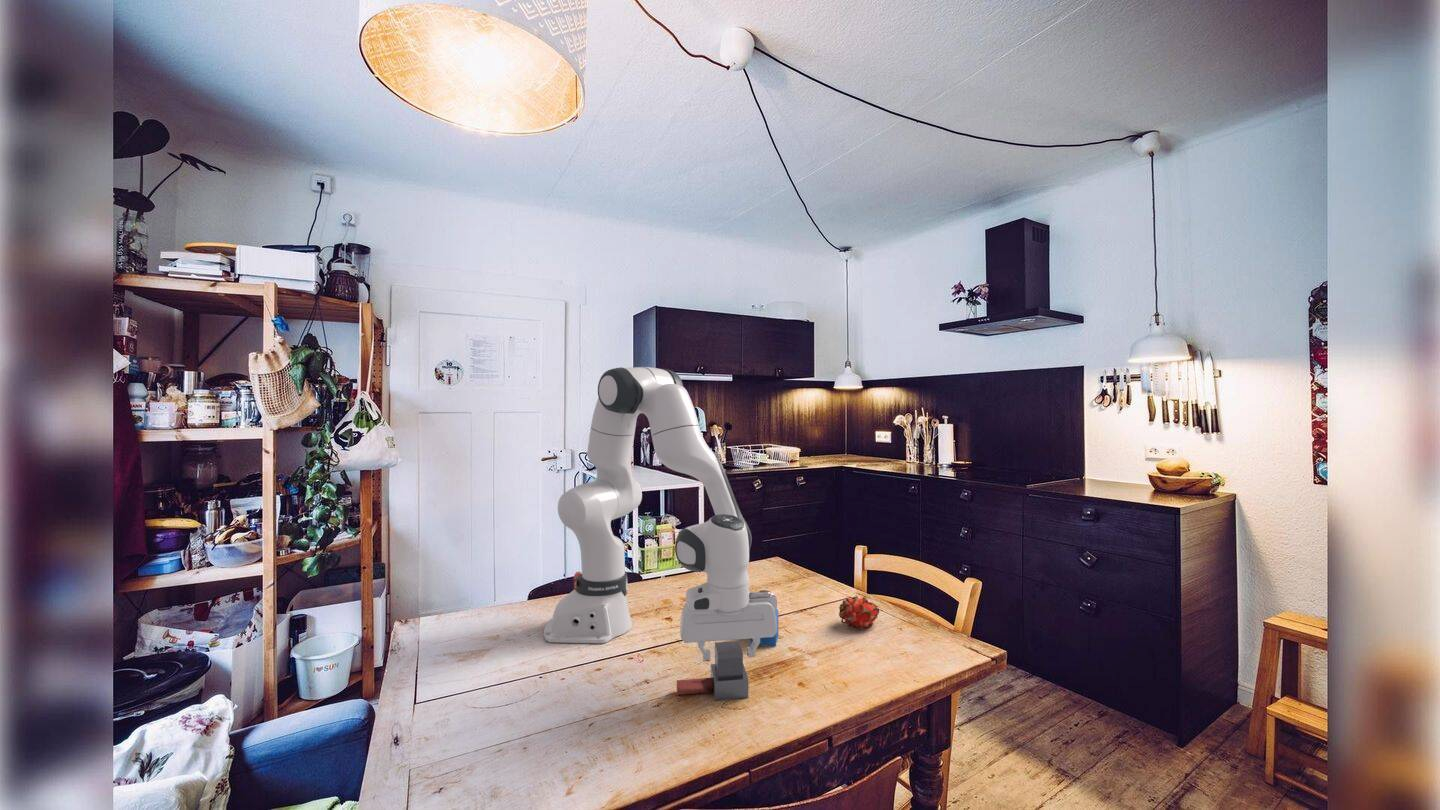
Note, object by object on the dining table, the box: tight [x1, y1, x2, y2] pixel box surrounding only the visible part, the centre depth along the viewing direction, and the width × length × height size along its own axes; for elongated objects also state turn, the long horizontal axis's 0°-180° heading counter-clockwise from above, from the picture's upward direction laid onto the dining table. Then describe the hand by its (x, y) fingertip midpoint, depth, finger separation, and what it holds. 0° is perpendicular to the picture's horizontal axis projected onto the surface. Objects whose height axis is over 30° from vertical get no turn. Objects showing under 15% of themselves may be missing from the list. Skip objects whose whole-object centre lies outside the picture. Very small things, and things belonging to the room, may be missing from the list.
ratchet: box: [676, 663, 749, 701], centre depth 123 cm, size 14×7×7 cm, turn 97°
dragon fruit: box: [838, 595, 880, 631], centre depth 153 cm, size 8×8×12 cm
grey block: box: [714, 640, 744, 679], centre depth 123 cm, size 5×5×5 cm
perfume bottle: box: [750, 589, 779, 647], centre depth 145 cm, size 6×6×12 cm
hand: (728, 658), depth 123 cm, fingers open, 8 cm apart
